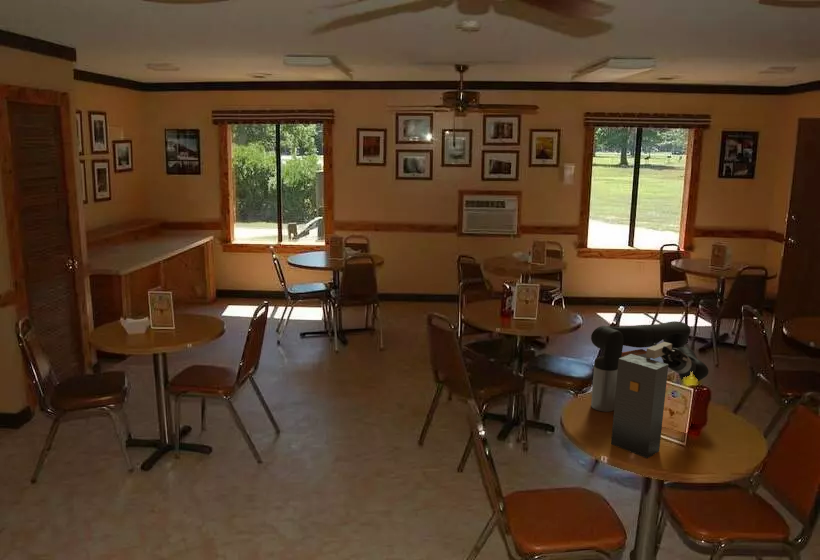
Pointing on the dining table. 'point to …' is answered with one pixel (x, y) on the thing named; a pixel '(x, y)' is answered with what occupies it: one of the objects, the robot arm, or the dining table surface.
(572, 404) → the dining table surface
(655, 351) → the handle
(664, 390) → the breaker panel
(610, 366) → the robot arm
